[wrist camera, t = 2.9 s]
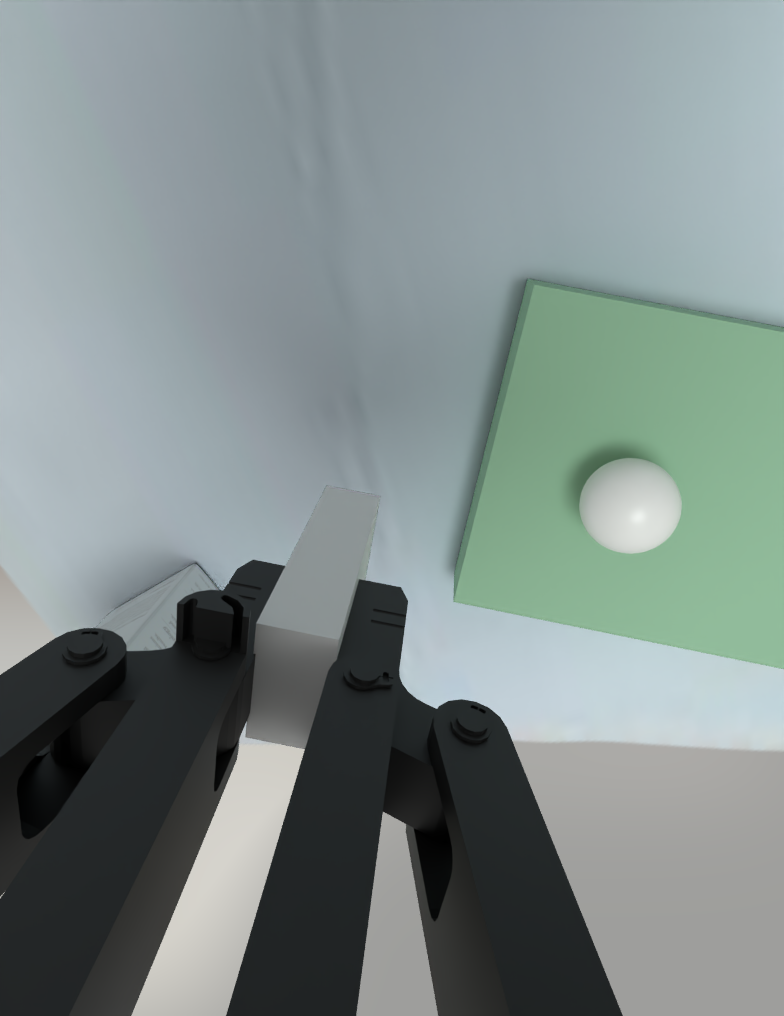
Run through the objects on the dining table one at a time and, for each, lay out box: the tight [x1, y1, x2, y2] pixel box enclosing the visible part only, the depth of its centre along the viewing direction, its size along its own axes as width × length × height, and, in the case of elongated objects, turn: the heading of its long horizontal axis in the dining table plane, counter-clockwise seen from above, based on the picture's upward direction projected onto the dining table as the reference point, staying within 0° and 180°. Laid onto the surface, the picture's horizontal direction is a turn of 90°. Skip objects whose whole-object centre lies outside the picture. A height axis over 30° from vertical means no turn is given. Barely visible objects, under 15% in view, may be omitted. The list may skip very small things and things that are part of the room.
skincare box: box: [96, 564, 219, 651], centre depth 26 cm, size 6×4×12 cm
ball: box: [579, 458, 682, 554], centre depth 22 cm, size 3×3×3 cm
